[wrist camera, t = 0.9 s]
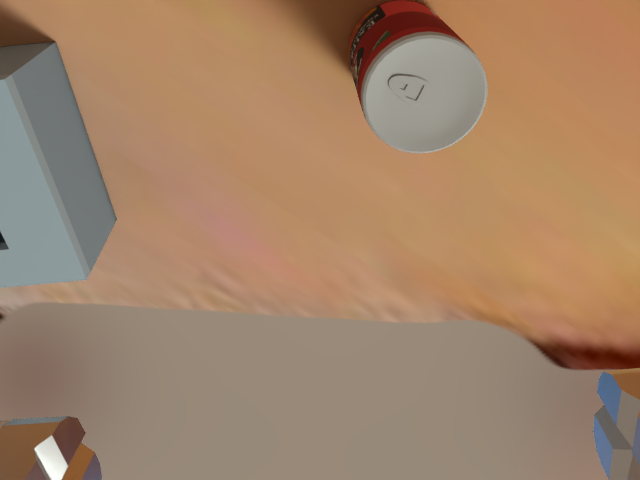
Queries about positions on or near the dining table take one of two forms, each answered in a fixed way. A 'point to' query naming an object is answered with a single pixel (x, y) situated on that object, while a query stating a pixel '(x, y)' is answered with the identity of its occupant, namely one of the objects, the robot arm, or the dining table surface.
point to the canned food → (415, 77)
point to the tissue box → (46, 174)
